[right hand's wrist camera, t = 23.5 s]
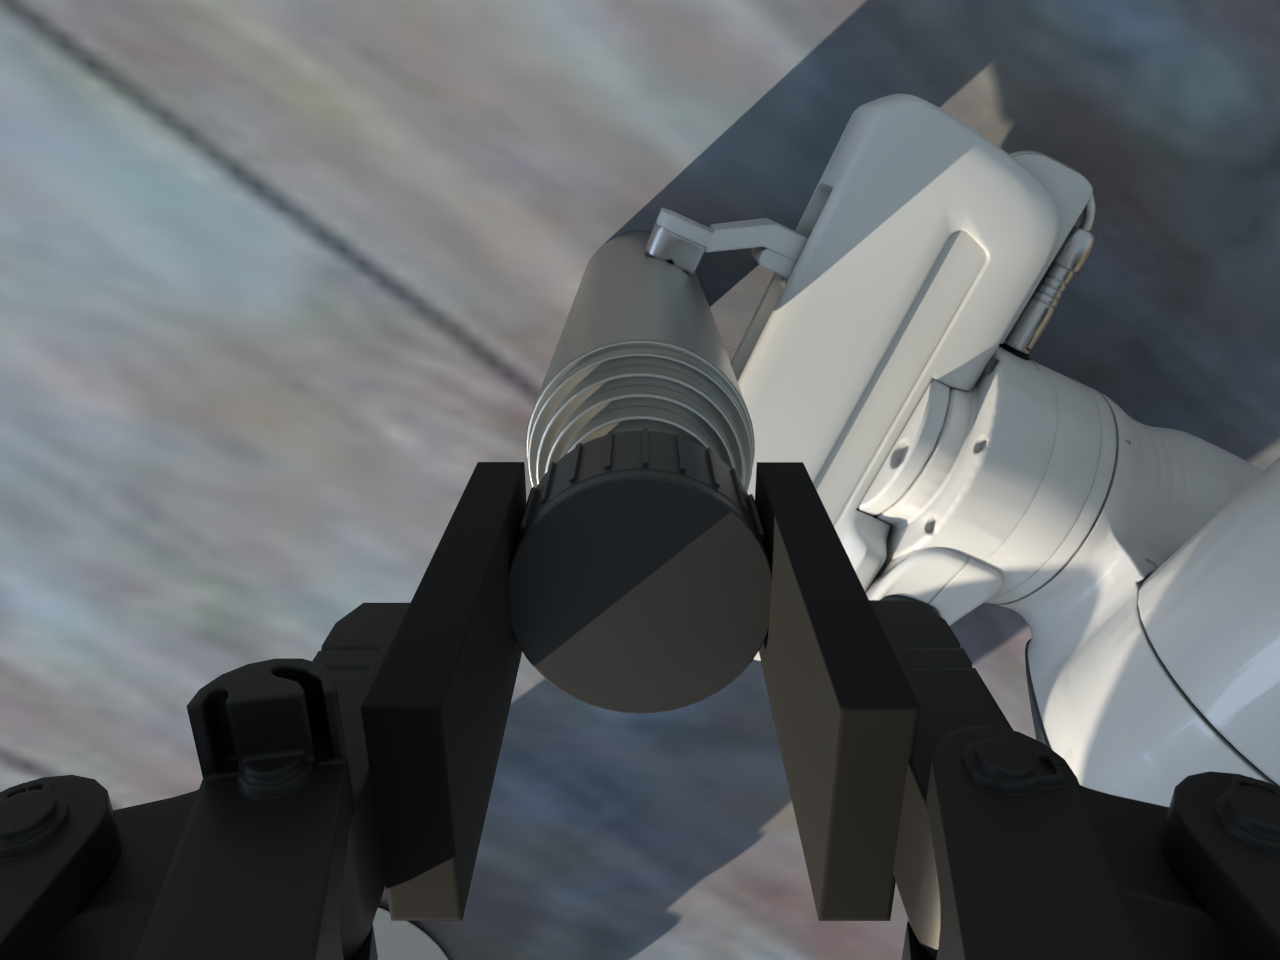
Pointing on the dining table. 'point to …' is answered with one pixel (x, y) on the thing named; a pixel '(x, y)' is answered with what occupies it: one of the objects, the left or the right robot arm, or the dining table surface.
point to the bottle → (639, 364)
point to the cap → (640, 573)
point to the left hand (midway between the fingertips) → (616, 314)
